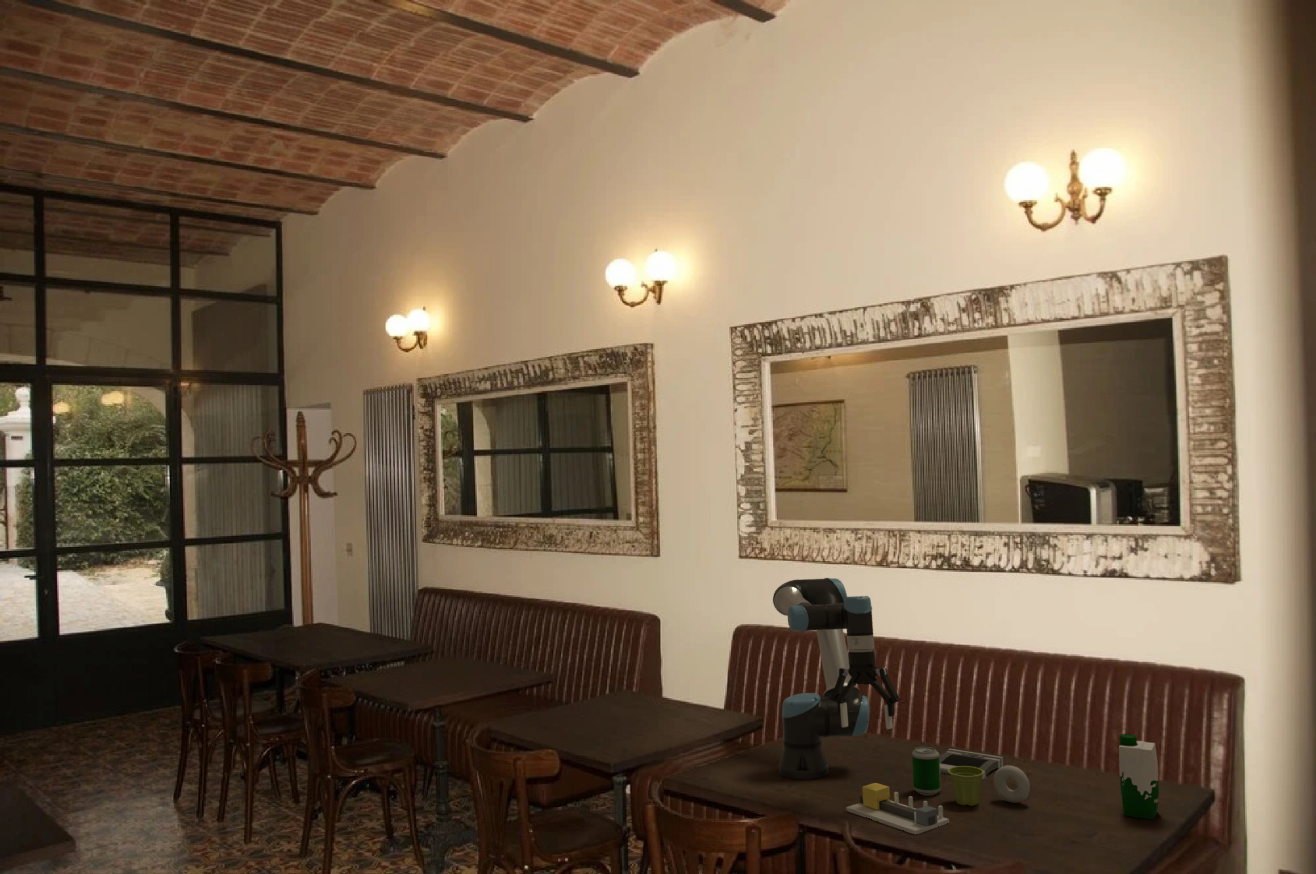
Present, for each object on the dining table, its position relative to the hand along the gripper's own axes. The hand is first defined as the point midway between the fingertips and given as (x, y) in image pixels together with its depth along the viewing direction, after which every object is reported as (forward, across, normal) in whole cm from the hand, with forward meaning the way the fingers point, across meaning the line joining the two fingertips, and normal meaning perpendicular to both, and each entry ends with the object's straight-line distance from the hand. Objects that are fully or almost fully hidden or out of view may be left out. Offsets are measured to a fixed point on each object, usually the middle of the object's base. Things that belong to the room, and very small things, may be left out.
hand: (866, 727), depth 286 cm
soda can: (+20, +10, +15) cm, 27 cm away
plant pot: (+21, +22, +12) cm, 33 cm away
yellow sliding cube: (+20, +4, -6) cm, 21 cm away
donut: (+21, +33, +18) cm, 43 cm away
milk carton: (+23, +64, +26) cm, 73 cm away
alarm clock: (+18, +11, +42) cm, 47 cm away
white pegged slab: (+22, +11, -8) cm, 25 cm away
